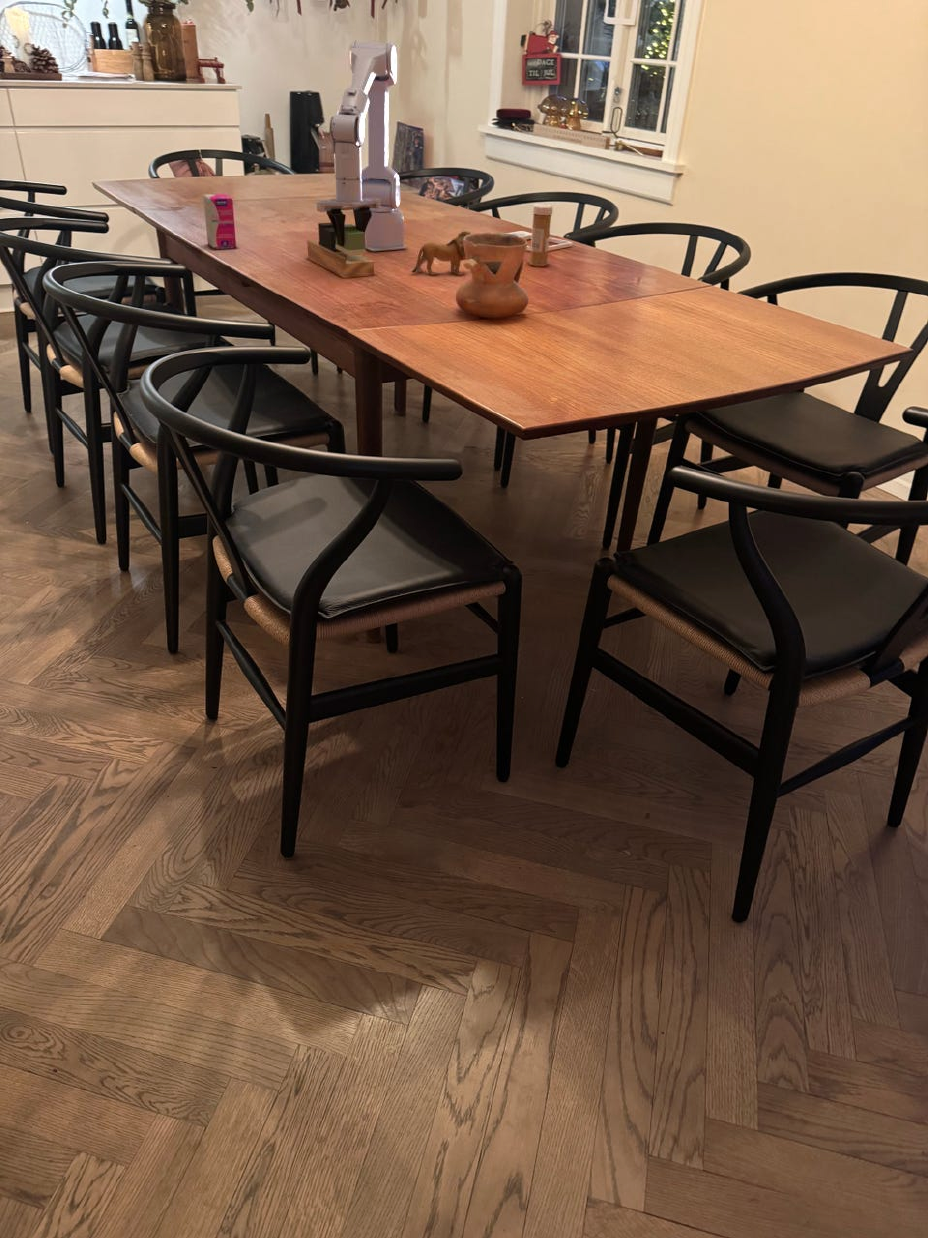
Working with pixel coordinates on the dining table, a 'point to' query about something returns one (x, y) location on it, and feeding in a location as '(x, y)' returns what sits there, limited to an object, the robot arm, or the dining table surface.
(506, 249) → the ceramic jug
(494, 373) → the dining table surface
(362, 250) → the green block
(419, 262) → the lion figurine
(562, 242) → the photo frame
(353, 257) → the wooden tray
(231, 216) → the supplement box
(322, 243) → the black block
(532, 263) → the sprinkles bottle
